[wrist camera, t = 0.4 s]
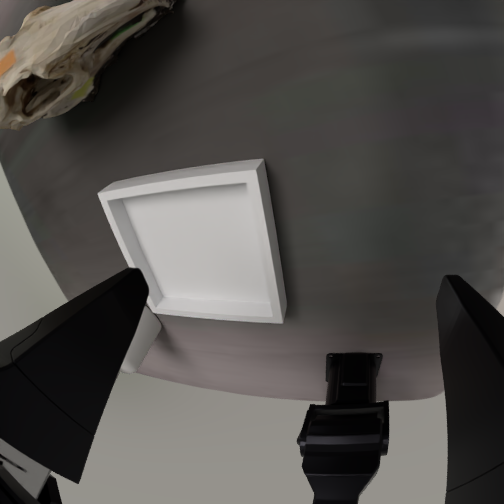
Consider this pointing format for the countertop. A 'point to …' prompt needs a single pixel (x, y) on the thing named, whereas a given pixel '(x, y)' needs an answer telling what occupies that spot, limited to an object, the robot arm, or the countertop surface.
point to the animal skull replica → (67, 54)
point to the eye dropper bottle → (141, 341)
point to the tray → (202, 240)
